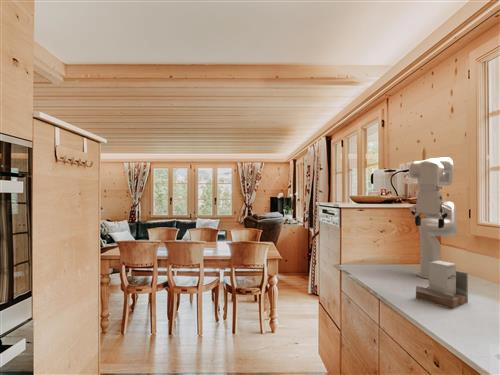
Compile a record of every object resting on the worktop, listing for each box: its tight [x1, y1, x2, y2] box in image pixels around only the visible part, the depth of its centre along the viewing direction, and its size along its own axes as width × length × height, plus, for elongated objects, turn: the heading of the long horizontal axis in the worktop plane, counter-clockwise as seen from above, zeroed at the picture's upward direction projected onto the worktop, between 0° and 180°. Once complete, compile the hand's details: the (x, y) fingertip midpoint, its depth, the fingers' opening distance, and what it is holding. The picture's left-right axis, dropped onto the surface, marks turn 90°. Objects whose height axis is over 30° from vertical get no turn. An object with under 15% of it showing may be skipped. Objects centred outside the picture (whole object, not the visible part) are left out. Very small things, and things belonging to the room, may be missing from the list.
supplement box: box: [428, 260, 457, 294], centre depth 128 cm, size 7×7×13 cm
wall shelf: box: [415, 269, 469, 309], centre depth 128 cm, size 14×14×12 cm
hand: (429, 226), depth 138 cm, fingers open, 9 cm apart
